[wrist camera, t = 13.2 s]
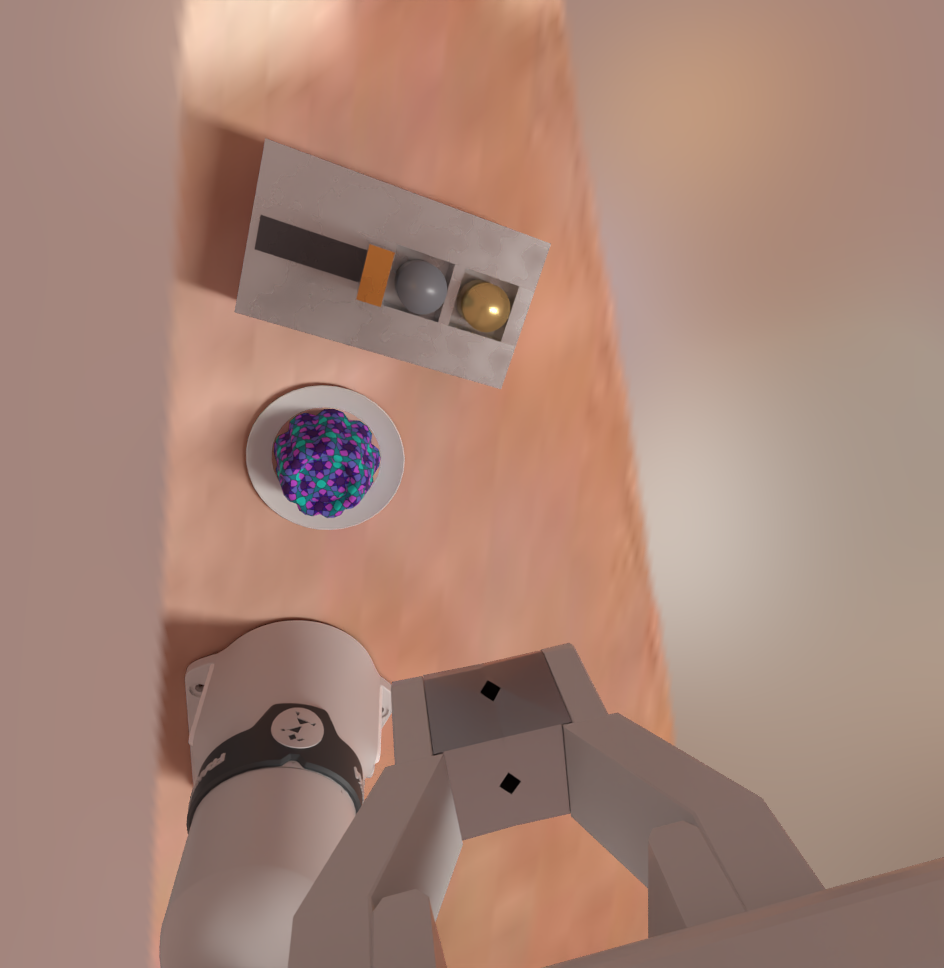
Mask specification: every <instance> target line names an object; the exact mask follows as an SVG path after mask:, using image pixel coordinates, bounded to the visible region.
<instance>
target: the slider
mask: <svg viewBox="0 0 944 968" xmlns="http://www.w3.org/2000/svg"><path fill="white" fill-rule="evenodd" d="M394 254H395V252H393V251H392V250H391V249H388V248H385V247H382V246H379V245H376V244H373V243H370V242H369V244H368V248H367V252H366V256H365V260H364V264H363V269H362V273H361V277H360V281H359V285H358V289H357V296H356V300H359V301H362V302H366V303H369V304H372V305H375V306H378V307H381V304H382V301H383V297H384V293H385V289H386V285H387V281H388V277H389V274H390V270H391V266H392V262H393V258H394Z"/></svg>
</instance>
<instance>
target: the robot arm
mask: <svg viewBox="0 0 944 968" xmlns="http://www.w3.org/2000/svg"><path fill="white" fill-rule="evenodd" d="M198 684H202V685H204V686H199V685H198ZM185 688H186V701H187V714H188V726H189V741H188V743H189V744H190V752H191V764H192V777H193V789H192V793H191V796H190V802H189V808H188V815H187V831H188V837H187V840H186V844H185V847H184V851H183V854H182V858H181V861H180V865H179V868H178V871H177V875H176V878H175V882H174V886H173V889H172V893H171V896H170V900H169V903H168V907H167V910H166V914H165V917H164V920H163V923H162V928H161V934H160V966H161V968H447V966H446V962H445V958H444V954H443V950H442V946H441V942H440V939H439V935H438V931H437V927H436V923H435V921H436V919H437V916H438V913H439V910H440V907H441V904H442V902H443V899H444V896H445V893H446V890H447V887H448V885H449V882H450V879H451V876H452V873H453V870H454V868H455V865H456V862H457V859H458V856H459V853H460V851H461V848H462V845H463V843H462V840H466V839H469V838H473V837H477V836H480V835H484V834H487V833H491V832H494V831H498V830H501V829H505V828H508V827H512V826H516V825H520V824H525V823H529V822H534V821H538V820H543V819H548V818H552V817H557V816H561V815H566V814H570V813H571V817H573V818H574V819H575V820H576V821H577V822H578V823H579V824H580V825H581V826H582V827H583V828H584V829H585V830H586V831H587V832H589V833H590V834H591V835H592V836H593V837H594V838H595V839H596V840H597V841H598V842H599V843H600V844H601V845H602V846H603V847H605V848H606V849H607V850H608V851H609V852H610V853H611V854H612V855H613V856H614V857H615V858H616V859H617V860H618V861H619V862H620V863H622V864H623V865H624V866H625V867H626V868H627V869H628V870H629V871H630V872H631V873H632V874H633V875H634V876H635V877H636V878H638V879H639V880H640V881H641V882H642V883H643V884H644V885H645V886H646V887H647V888H648V939H644V940H640V941H637V942H633V943H629V944H626V945H622V946H619V947H615V948H611V949H608V950H604V951H600V952H597V953H593V954H590V955H586V956H582V957H579V958H575V959H572V960H568V961H564V962H561V963H557V964H553V965H550V966H546V967H543V968H944V857H942V858H938V859H934V860H931V861H927V862H923V863H920V864H916V865H912V866H909V867H906V868H902V869H898V870H894V871H891V872H887V873H884V874H880V875H877V876H872V877H869V878H865V879H862V880H858V881H854V882H851V883H847V884H844V885H840V886H836V887H833V888H829V889H825V888H824V886H823V885H822V883H821V882H820V881H819V879H818V878H817V876H816V875H815V873H814V872H813V870H812V869H811V868H810V866H809V865H808V864H807V862H806V861H805V859H804V858H803V856H802V855H801V853H800V852H799V850H798V849H797V847H796V846H795V845H794V843H793V842H792V840H791V839H790V837H789V836H788V835H787V833H786V832H785V830H784V829H783V827H782V826H781V824H780V823H779V822H778V820H777V819H776V817H775V816H774V814H773V813H772V812H771V810H770V809H769V807H768V806H767V804H766V803H765V802H764V800H763V799H762V798H761V797H759V796H758V795H756V794H754V793H753V792H751V791H749V790H748V789H746V788H744V787H743V786H741V785H739V784H737V783H736V782H734V781H732V780H731V779H729V778H727V777H726V776H724V775H722V774H720V773H719V772H717V771H715V770H714V769H712V768H710V767H709V766H707V765H705V764H704V763H702V762H700V761H699V760H697V759H695V758H693V757H692V756H690V755H688V754H687V753H685V752H683V751H682V750H680V749H678V748H677V747H675V746H673V745H671V744H670V743H668V742H666V741H665V740H663V739H661V738H660V737H658V736H656V735H655V734H653V733H651V732H649V731H648V730H646V729H644V728H643V727H641V726H639V725H638V724H636V723H634V722H633V721H631V720H629V719H627V718H626V717H624V716H622V715H621V714H619V713H614V714H609V715H608V713H607V711H606V709H605V707H604V705H603V703H602V701H601V699H600V697H599V695H598V693H597V691H596V689H595V687H594V685H593V683H592V681H591V679H590V677H589V675H588V673H587V671H586V669H585V667H584V665H583V663H582V661H581V659H580V657H579V655H578V653H577V651H576V649H575V648H574V646H573V645H572V644H570V643H566V644H562V645H558V646H554V647H550V648H546V649H541V651H535V652H531V653H526V654H522V655H518V656H513V657H509V658H504V659H500V660H496V661H491V662H487V663H483V664H478V665H473V666H468V667H463V668H457V669H452V670H447V671H442V672H437V673H432V674H427V675H423V676H420V677H415V678H410V679H405V680H399V681H394V682H392V685H391V684H390V683H389V682H388V681H386V680H385V679H384V678H383V677H381V676H380V675H379V673H378V672H377V670H376V668H375V666H374V663H373V661H372V659H371V657H370V655H369V654H368V652H367V651H366V650H365V648H364V647H363V646H362V645H361V644H360V643H359V642H358V641H357V640H356V639H354V638H353V637H352V636H350V635H349V634H347V633H345V632H343V631H342V630H339V629H337V628H335V627H332V626H329V625H326V624H323V623H318V622H313V621H302V620H292V621H281V622H275V623H271V624H267V625H264V626H261V627H258V628H256V629H254V630H252V631H250V632H248V633H246V634H244V635H243V636H241V637H240V638H238V639H237V640H236V641H234V642H233V643H232V644H231V645H229V646H228V647H227V648H226V649H224V650H223V651H221V652H219V653H217V654H213V655H210V656H207V657H204V658H201V659H199V660H196V661H194V662H192V663H191V664H190V665H189V666H188V667H187V670H186V675H185ZM391 713H392V721H393V739H394V757H395V765H392V766H388V767H385V769H384V770H383V772H382V773H381V775H380V777H379V778H378V780H377V782H376V783H375V785H374V786H373V788H372V790H371V791H370V793H369V795H368V796H367V798H366V799H365V801H364V785H365V778H371V777H372V775H373V772H374V768H375V764H376V763H378V762H379V758H380V752H381V729H382V728H383V726H384V724H385V723H386V721H387V719H388V718H389V716H390V715H391Z"/></svg>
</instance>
